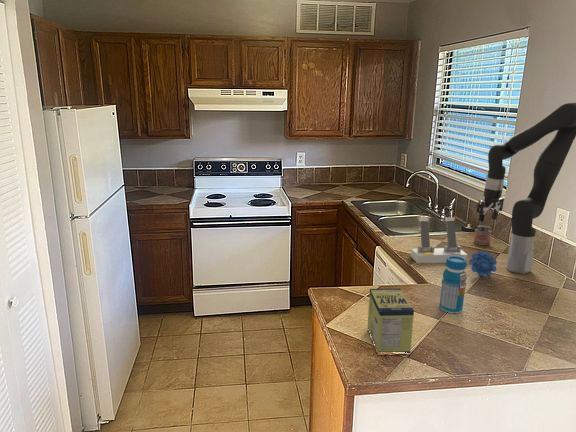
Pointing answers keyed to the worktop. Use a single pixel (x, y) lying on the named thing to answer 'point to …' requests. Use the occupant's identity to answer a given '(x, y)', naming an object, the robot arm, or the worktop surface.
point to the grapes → (483, 263)
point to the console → (436, 254)
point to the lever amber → (424, 234)
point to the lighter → (482, 235)
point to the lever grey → (451, 233)
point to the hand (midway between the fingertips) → (487, 220)
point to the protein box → (390, 320)
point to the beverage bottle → (453, 285)
